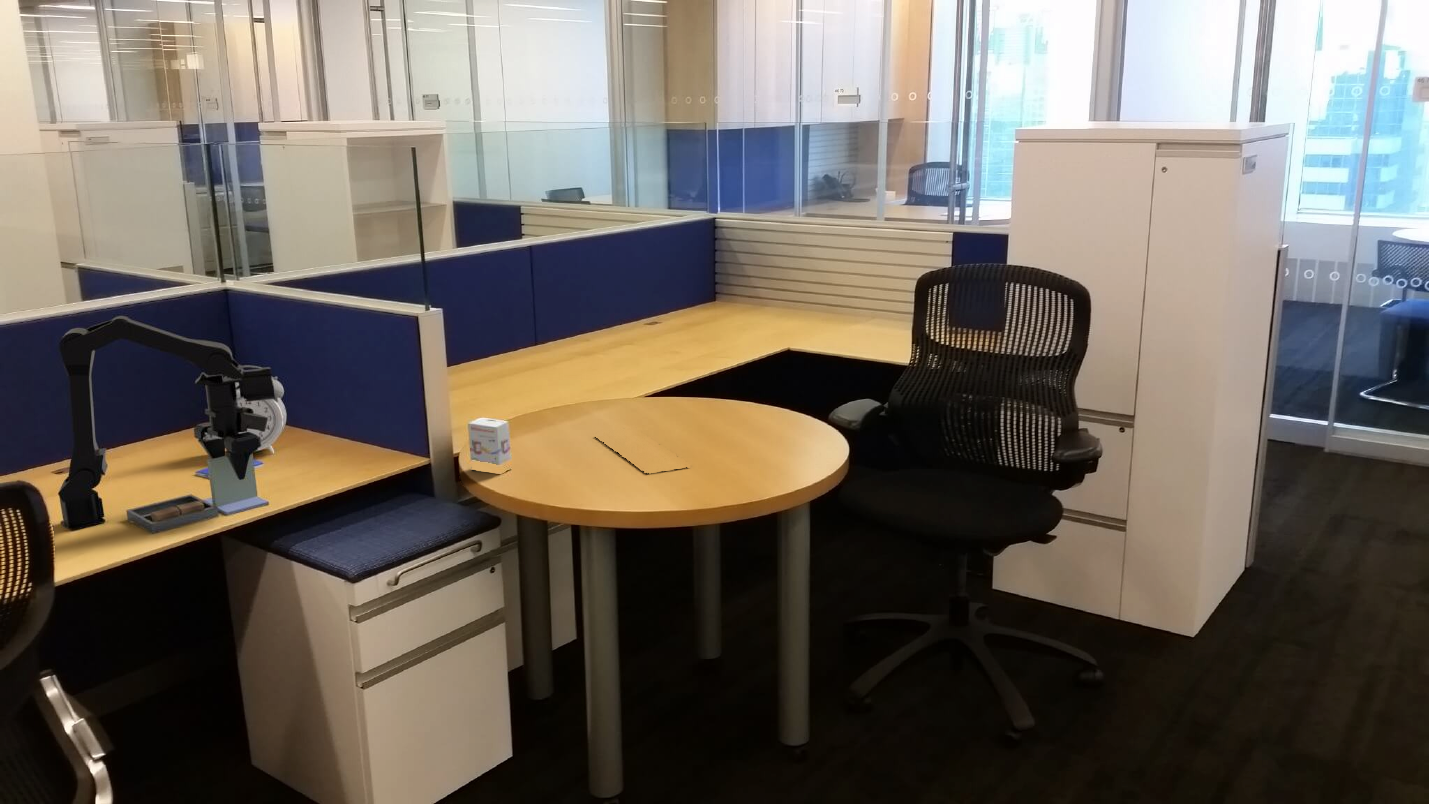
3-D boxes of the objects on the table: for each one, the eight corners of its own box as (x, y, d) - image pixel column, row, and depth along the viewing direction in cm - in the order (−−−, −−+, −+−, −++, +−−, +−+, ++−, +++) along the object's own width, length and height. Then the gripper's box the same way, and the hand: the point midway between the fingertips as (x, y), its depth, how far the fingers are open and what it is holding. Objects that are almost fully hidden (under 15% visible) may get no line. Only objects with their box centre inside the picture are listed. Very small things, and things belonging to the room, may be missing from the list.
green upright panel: (216, 506, 232) (210, 461, 229) (212, 505, 233) (207, 460, 230) (257, 496, 238) (252, 452, 236) (254, 494, 239) (248, 450, 237)
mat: (227, 515, 228) (227, 512, 228) (201, 502, 236) (201, 500, 236) (268, 504, 235) (268, 501, 235) (242, 492, 243) (242, 489, 242)
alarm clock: (216, 460, 267) (205, 371, 261) (223, 450, 275) (212, 364, 269) (288, 454, 271) (278, 367, 265) (292, 444, 279) (283, 360, 273)
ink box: (469, 471, 256) (466, 421, 253) (482, 465, 260) (479, 416, 258) (499, 475, 252) (496, 425, 250) (512, 469, 257) (509, 420, 254)
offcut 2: (183, 523, 225) (181, 509, 224) (178, 519, 227) (176, 505, 226) (205, 517, 228) (203, 504, 227) (200, 514, 230) (198, 500, 229)
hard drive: (240, 456, 266) (194, 470, 255) (263, 461, 262) (217, 476, 251) (241, 463, 266) (195, 477, 256) (264, 467, 262) (218, 482, 252)
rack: (152, 533, 218) (151, 524, 218) (127, 519, 227) (126, 510, 226) (218, 516, 228) (217, 507, 227) (192, 503, 236) (191, 494, 236)
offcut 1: (159, 529, 221) (157, 515, 220) (152, 526, 223) (150, 512, 222) (181, 523, 224) (179, 509, 223) (174, 520, 226) (172, 506, 225)
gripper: (281, 403, 230) (289, 474, 234) (239, 390, 242) (248, 458, 246) (228, 414, 222) (237, 487, 226) (188, 399, 234) (197, 469, 238)
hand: (231, 475), depth 234 cm, fingers open, 9 cm apart
